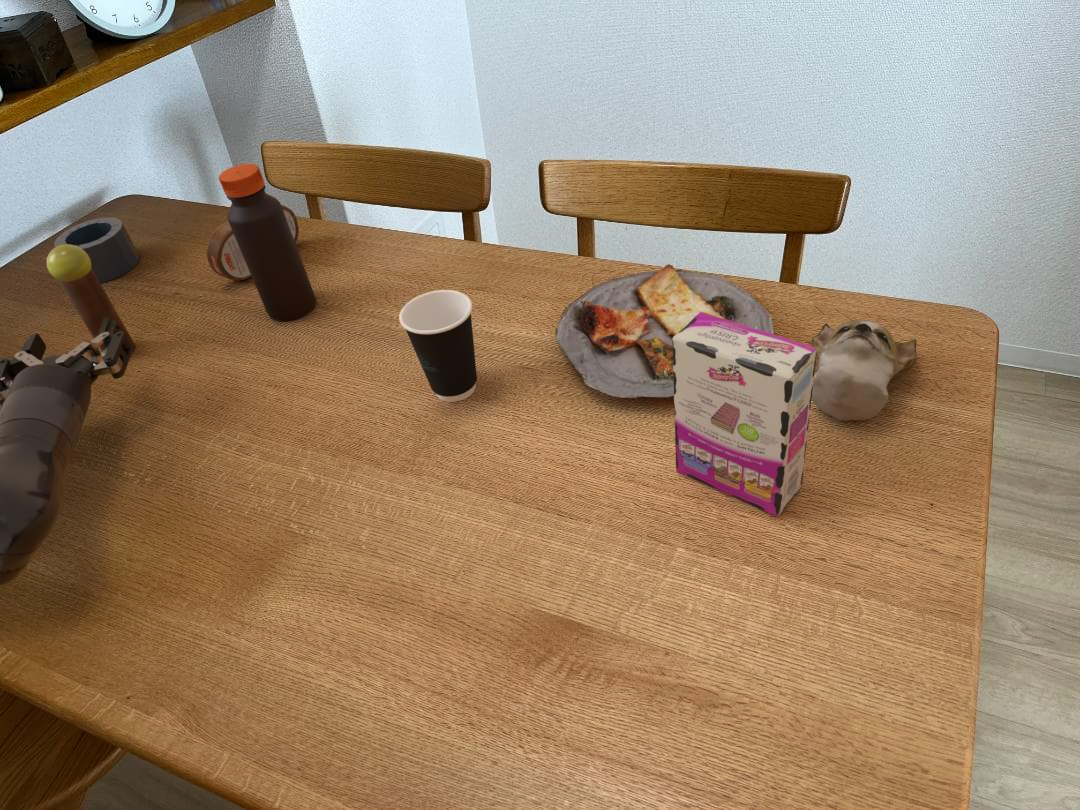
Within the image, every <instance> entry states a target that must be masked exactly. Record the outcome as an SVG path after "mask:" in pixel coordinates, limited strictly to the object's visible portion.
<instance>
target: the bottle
mask: <svg viewBox="0 0 1080 810" xmlns="http://www.w3.org/2000/svg"><path fill="white" fill-rule="evenodd" d="M263 177H264V176H263V174H262V172H261V169H260V167H259V165H257V164H255V163H241V164H237V165H233V166H230V167H229V168H227V169H225V170H223V171H222V172H221V173H220V174H219V175H218V181H219V183H220V185H221V187H222V190H223V192H224V195H225V196H226V198H227V199H228V200H229V201H230V202H231V204H230V206H229V209H228V211H227V215H226V219H227V221H228V222H229V224H230V227H231V229H232V231H233V234H234V236H235V238H236V241H237V243H238V246H239V248H240V250H241V253H242V255H243V257H244V260H245V262H246V264H247V267H248V269H249V271H250V274H251V279H252V282H253V283H254V286H255V288H256V290H257V293H258V294H259V298H260V299H261V302H262V304H263V307H264V309H265V311H266V314H267V315H268V317H269V318H271V319H272V320H274V321H278V322H279V321H281V322H287V321H293V320H296V319H299V318H301V317H303V316H305V315H306V314H308V313H310V312H311V311H312V310H313V309H314V307H315V306H316V303H317V299H316V294H315V292H314V289H313V287H312V284H311V281H310V279H309V275H308V273H307V271H306V268H305V264H304V263H303V262H304V261H303V260H302V257H301V255H300V254H301V253H300V252H299V249H298V246H297V242H296V243H295V241H294V238H293V235H292V233H291V230H290V227H289V225H288V222H287V219H286V217H285V214H284V211H283V209H282V206H281V205H282V203H281V202H280V200H278V198H276V197H275V196H272V195H270V194H269V193H267V192H266V188H267V187H266V184H265V180H264V178H263Z"/></svg>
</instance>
